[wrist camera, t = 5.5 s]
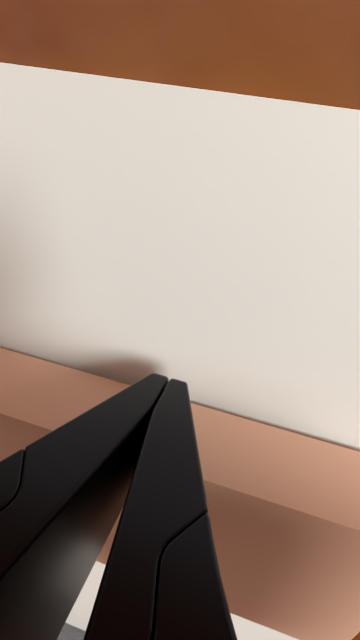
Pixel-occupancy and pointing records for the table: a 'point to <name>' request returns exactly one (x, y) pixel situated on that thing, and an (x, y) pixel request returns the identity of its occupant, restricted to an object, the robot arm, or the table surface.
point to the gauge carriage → (234, 500)
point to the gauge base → (184, 250)
